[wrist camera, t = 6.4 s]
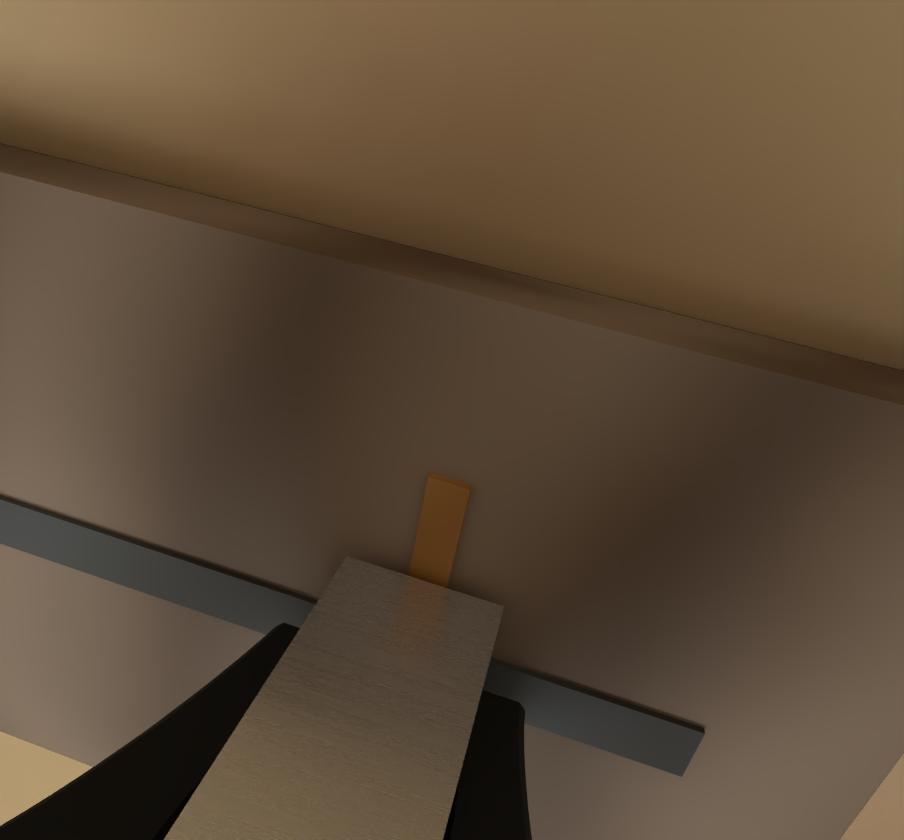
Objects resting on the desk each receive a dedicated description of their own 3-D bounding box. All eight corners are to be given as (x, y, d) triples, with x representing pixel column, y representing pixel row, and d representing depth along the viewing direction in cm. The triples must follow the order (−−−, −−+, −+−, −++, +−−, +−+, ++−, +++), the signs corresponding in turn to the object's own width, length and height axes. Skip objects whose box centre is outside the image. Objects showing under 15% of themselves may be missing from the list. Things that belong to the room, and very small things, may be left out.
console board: (1046, 407, 9) (1127, 467, 7) (708, 921, 14) (716, 1014, 13) (-248, 81, 11) (-376, 77, 10) (-112, 619, 17) (-182, 667, 15)
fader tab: (504, 606, 10) (415, 940, 6) (456, 768, 11) (362, 1115, 7) (347, 556, 10) (163, 840, 6) (321, 721, 12) (164, 1029, 8)
